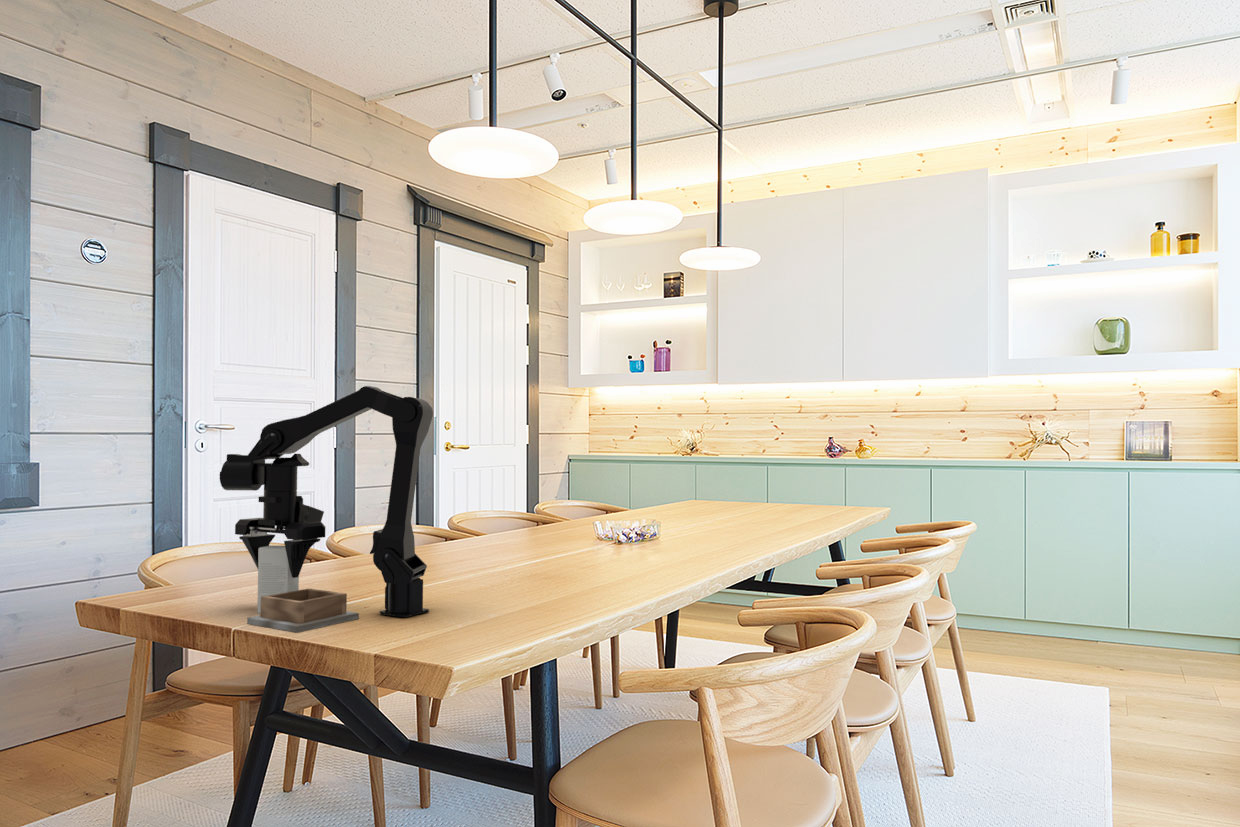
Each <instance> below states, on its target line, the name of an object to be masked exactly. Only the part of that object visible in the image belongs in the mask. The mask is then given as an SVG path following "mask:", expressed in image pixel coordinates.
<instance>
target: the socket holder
mask: <svg viewBox="0 0 1240 827" xmlns="http://www.w3.org/2000/svg"><path fill="white" fill-rule="evenodd" d="M347 598H348V594H347V592H346V593H343V592H337V591H330V590H323V589H315V588H305V589H299V590H297V591H292V592H286V593H280V594H274V595H269V596H263V597H261V613H260V615H256V616H255V615H254V616H250V617H247V619H246V624H248V625H253V626H258V627H263V628H269V629H274V630H275V629H277V630H281V631H286V632H293V633H301V632H306V631H311V630H314V629H319V628H323V627H327V626H328V627H329V626H332V625H337V624H342V623H345V622H351V621H355V620H359V618H360V613H359V612H354V611H348V609H347V604H348V602H347V600H348V599H347Z"/></svg>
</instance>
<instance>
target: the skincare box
mask: <svg viewBox="0 0 1240 827" xmlns="http://www.w3.org/2000/svg"><path fill="white" fill-rule="evenodd" d="M299 582H300V575H299V576H298V577H296V578H293V577H292V575H291V572H290V568H289V563H288V558H287V553H286V549H285V545H269V546H266V547H261V548H259V549H258V569H257V614H261V597H263V596H269V595H274V594H280V593H286V592H292V591H297V590H300V589H299V588H300V586H299V585H300V584H299Z"/></svg>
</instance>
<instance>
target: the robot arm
mask: <svg viewBox="0 0 1240 827" xmlns="http://www.w3.org/2000/svg"><path fill="white" fill-rule="evenodd" d="M370 410H374V411H376V412H378V413H380V414H383V415H384V416H388V417H390V418H391V419H392V420H391V421H392V422H391V423H392V424H391V425H392V433H393V436H394V441H395V451H394V458H393V460H394V461H393V467H392V468H393V469H392V474H391V475H392V476H391V482H390V491H389V497H388V498H389V499H388V505H387V506H388V507H387V514H386V520H385V523H384V526H383V528H381V529H378V530H373V533H372V542H373V543H372V547H371V550H370V552H369V554H370V555H372V554H373V555H372V562H373V565H375V567H376V568H377V569H378V570H379V571H380V572H381V575H382V578H383V581H384V583H385V586H384V609H383V610H379V614H380V615H386V616H391V617H397V618H408V617H412V616H416V615H420V614H421V615H422V614H424V613H429V612H430V609H429V608H424V579H422V577H424V576H425V572H426V570H427V567H428V566H427V564H426V563H425V562H424V561H423V560H422V559H421V558H420V556H418V555H417V553H416V550H415V548H416V547H415V535H414V530H413V526H412V517H413V509H414V501H415V500H414V499H415V492H416V484H417V476H418V470H419V464H420V456H421V455H420V454H421V448H422V445H423V443H424V441H425V439H426V436H427V435H428V433H429V431H430V430H429V429H430V427H431V423H432V421H433V417H434V416H433V415H434V412H433V410H434V409H433V408H432V406H431V405H430V403H429V402H428V401H426V400H425V399H422V398H418V397H412V396H405V397H401V396H398V395H397V394H392V393H389V392H387V391H385V390H382V389H381V388H379V387H376V386H371V385H364V386H362V387H361V388H359V389H358V390H357V391H354V392H352V393H350V394H348V395H346V396H344V397H342V398H340V399H337V400H335V401H333V402H331V403H328V404H326V405H325V406H323V407H320V408H318V409H316V410H313V411H312V412H310V413H307V414H305V415H302V416H301V415H300V416H296V417H292V418H288V419H281V420H280V421H275V422H271V423H268V424H267V425H265V426H264V427H263V428H262V429H261V433H260V436H259V440H258V441H257V442H256V444H255V445H254V446H253V447H252V449H251V450H250V451H249V453H247V454H246V455H245V454H239V453H228V454H227V455H226V460H225V461H224V463H223V464H222V467H221V470H220V471H219V482H220V486H221V487H222V489H223V490H225V491H256V492H257V491H259V490H260V489H261V487H262V486H263V496H258V503H263V508H262V509H263V510H262V511H263V517H253V518H242V519H241V518H240V519H238V521H237V522H236V523H235V526H234V535H240V536H239V540H241V541H242V542H243V544H244V545H245V548H246V550H247V551H248V554H250V556H251V558H252V560H253V563H254V564H255V565H254V566H255V567H256V568H257V570H258V549H259V548H261V547H266V546H270V544H271V543H272V541H273V539H275V537H276V534H283V535H284V536H285V537H286V539H287V540H284V541H283V542H284V546H285V549H286V553H287V558H288V563H289V568H290V572H291V575H292V577H293V578H296V577H298V576H299V577H300V574H301V571H302V568H303V565H304V563H305V560H306V557H307V556H308V553H309V551H310V549H311V548H312V546H314V545H315V544H316V543H320V542H321V538H325V537H326V526H325V525H324V523H323V521H322V520H323V517H324V513H325V511H324V510H321V509H319V508H315V507H313V506H310V505H306V504H304V497H303V495H298V467H308V466H309V465H310V462H309V461H308V460H306V459H305V458H304V457H303V456H302V454H301V453H297V452H298V451H299V450H301V449H302V448H304V447H305V446H307V445H308V444H309V443H311V441H312V440H314V439H315V438H316V436H318V435H320V434H322V433H324V432H325V431H328V430H330V429H333V428H334V427H336V426H338V425H340V424H343V423H345V422H347V421H349V420H352V419H354V418H355V417H358V416H359V415H362V414H364V413H366V412H368V411H370ZM291 454H293V455H292V456H291V457H283V456H284V455H291ZM266 460H273V461H272V462H270V463H269V462H266Z"/></svg>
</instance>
